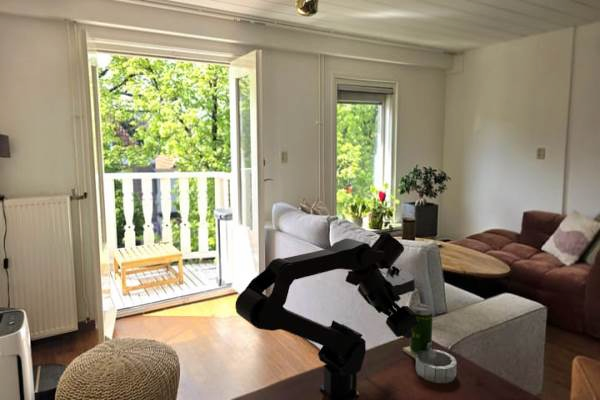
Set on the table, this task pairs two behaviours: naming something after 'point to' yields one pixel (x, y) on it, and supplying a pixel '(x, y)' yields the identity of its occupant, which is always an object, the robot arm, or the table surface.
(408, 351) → the cork coaster
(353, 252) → the robot arm
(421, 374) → the ring holder
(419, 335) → the beer can
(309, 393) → the table surface
